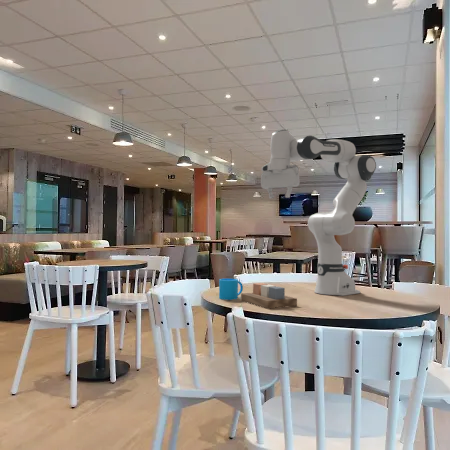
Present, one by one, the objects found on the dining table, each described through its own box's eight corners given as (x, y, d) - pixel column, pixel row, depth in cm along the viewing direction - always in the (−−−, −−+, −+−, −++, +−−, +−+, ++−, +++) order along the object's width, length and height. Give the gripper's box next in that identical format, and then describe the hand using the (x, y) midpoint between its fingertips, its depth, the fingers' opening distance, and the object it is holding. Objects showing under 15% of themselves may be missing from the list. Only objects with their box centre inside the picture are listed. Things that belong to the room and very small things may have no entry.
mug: (226, 300, 182) (226, 281, 182) (215, 297, 188) (215, 279, 188) (248, 297, 189) (248, 279, 189) (236, 295, 196) (237, 277, 196)
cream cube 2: (269, 295, 179) (269, 284, 179) (275, 297, 175) (275, 286, 175) (260, 296, 177) (260, 285, 177) (266, 297, 173) (266, 286, 173)
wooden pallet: (268, 298, 188) (268, 291, 188) (296, 306, 171) (296, 298, 171) (241, 300, 182) (241, 293, 182) (267, 308, 164) (267, 300, 164)
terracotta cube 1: (261, 293, 185) (261, 283, 185) (267, 294, 181) (267, 284, 181) (253, 294, 182) (253, 283, 182) (258, 295, 179) (258, 284, 179)
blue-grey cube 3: (278, 297, 174) (278, 286, 174) (284, 299, 170) (284, 288, 170) (269, 298, 172) (269, 287, 172) (275, 300, 168) (275, 288, 168)
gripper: (303, 165, 184) (302, 197, 184) (268, 169, 199) (267, 199, 199) (293, 163, 180) (292, 196, 180) (258, 168, 195) (258, 198, 195)
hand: (279, 197), depth 190 cm, fingers open, 8 cm apart
